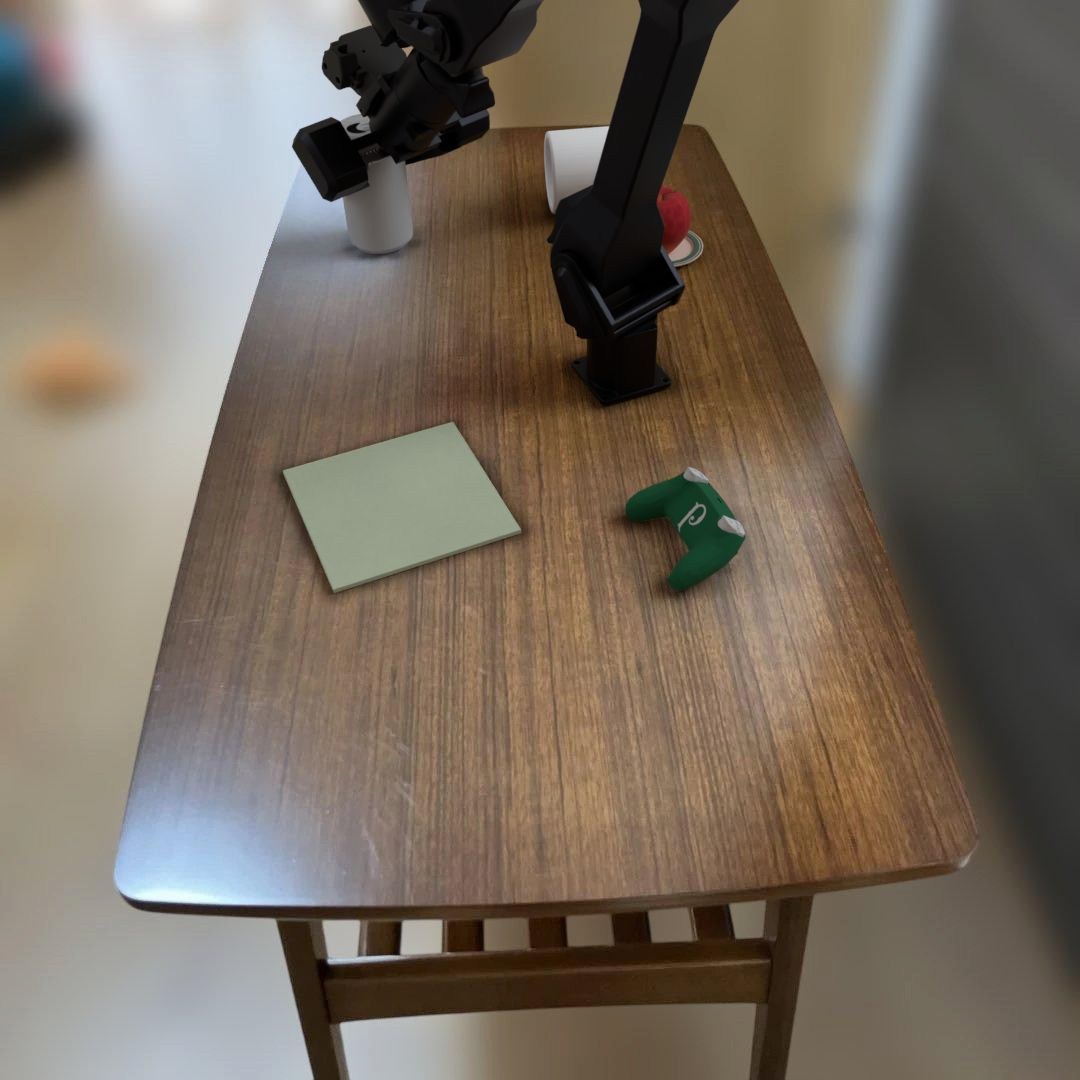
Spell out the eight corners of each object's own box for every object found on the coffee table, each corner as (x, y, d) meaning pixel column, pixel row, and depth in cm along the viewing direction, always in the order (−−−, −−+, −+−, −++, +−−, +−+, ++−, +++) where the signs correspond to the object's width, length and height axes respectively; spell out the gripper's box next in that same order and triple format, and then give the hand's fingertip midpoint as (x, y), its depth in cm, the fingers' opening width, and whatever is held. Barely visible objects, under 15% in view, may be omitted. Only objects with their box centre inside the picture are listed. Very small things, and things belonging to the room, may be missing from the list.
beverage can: (342, 234, 113) (323, 118, 105) (403, 220, 115) (388, 105, 106) (360, 263, 109) (341, 144, 101) (423, 249, 111) (409, 130, 102)
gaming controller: (702, 608, 77) (764, 549, 75) (668, 591, 75) (732, 529, 73) (648, 523, 84) (704, 467, 82) (615, 505, 81) (672, 446, 79)
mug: (652, 220, 113) (655, 143, 108) (554, 228, 113) (553, 152, 107) (630, 167, 122) (632, 94, 117) (540, 175, 121) (537, 102, 116)
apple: (709, 269, 106) (714, 205, 102) (625, 274, 106) (627, 210, 101) (695, 228, 112) (700, 166, 107) (615, 232, 112) (617, 170, 107)
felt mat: (521, 533, 81) (521, 529, 80) (333, 593, 77) (333, 589, 77) (453, 425, 90) (453, 421, 90) (283, 474, 86) (282, 470, 86)
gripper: (460, -23, 98) (396, 71, 112) (283, 36, 89) (237, 130, 103) (525, 91, 99) (454, 171, 113) (357, 160, 90) (302, 238, 104)
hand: (364, 174), depth 108 cm, fingers open, 7 cm apart
